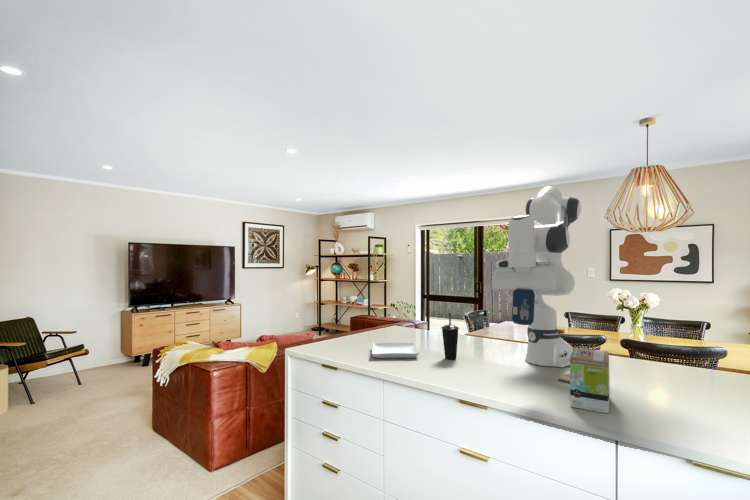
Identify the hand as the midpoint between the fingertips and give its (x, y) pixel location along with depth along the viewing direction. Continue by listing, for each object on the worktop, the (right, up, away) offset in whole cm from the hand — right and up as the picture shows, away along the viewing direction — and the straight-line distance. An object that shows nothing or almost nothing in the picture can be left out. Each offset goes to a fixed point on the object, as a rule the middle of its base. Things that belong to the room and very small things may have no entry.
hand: (523, 303), depth 128 cm
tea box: (+14, -28, -15) cm, 35 cm away
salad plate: (-41, -31, +48) cm, 71 cm away
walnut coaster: (+22, -28, +5) cm, 36 cm away
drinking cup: (-17, -30, +38) cm, 52 cm away
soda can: (-1, -7, 0) cm, 7 cm away
